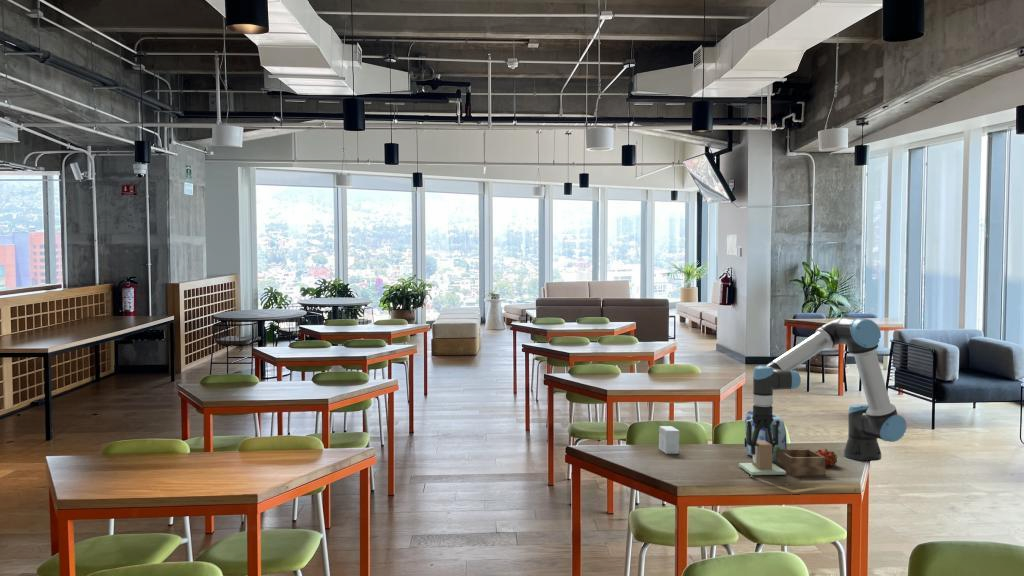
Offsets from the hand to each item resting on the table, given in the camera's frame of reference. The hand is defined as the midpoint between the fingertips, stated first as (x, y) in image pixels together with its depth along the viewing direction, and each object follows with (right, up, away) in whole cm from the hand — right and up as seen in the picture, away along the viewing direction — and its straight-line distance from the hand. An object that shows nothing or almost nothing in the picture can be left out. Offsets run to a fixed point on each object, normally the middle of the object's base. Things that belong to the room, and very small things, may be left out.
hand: (762, 462), depth 320 cm
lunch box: (+8, -4, +23) cm, 25 cm away
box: (+16, -5, +1) cm, 17 cm away
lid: (0, -3, 0) cm, 3 cm away
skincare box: (-30, -4, +38) cm, 49 cm away
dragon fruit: (+28, -5, +9) cm, 30 cm away
